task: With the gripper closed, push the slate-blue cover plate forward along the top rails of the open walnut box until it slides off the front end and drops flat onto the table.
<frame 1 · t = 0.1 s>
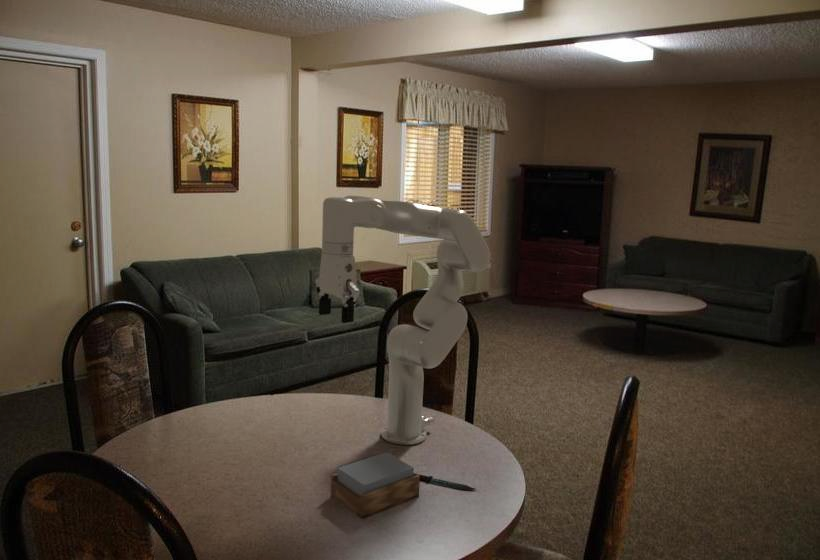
hand: (335, 318, 159), 37 cm above the table, tool pointing down, fingers open, 9 cm apart
cover plate: (375, 480, 146), point 4 cm above the table, touching walnut box
knife: (435, 484, 155), on the table
walnut box: (374, 496, 147), on the table
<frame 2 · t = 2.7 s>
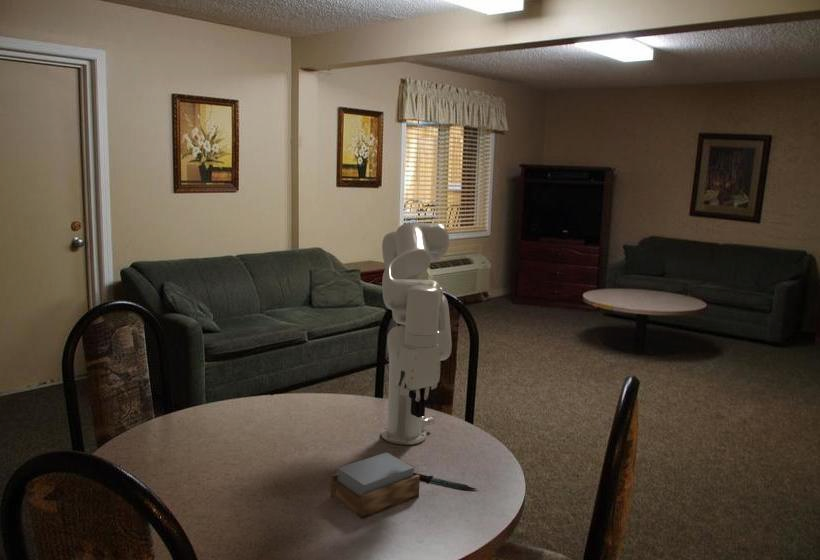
hand: (417, 415, 152), 17 cm above the table, tool pointing down, fingers closed
nothing on the table moved.
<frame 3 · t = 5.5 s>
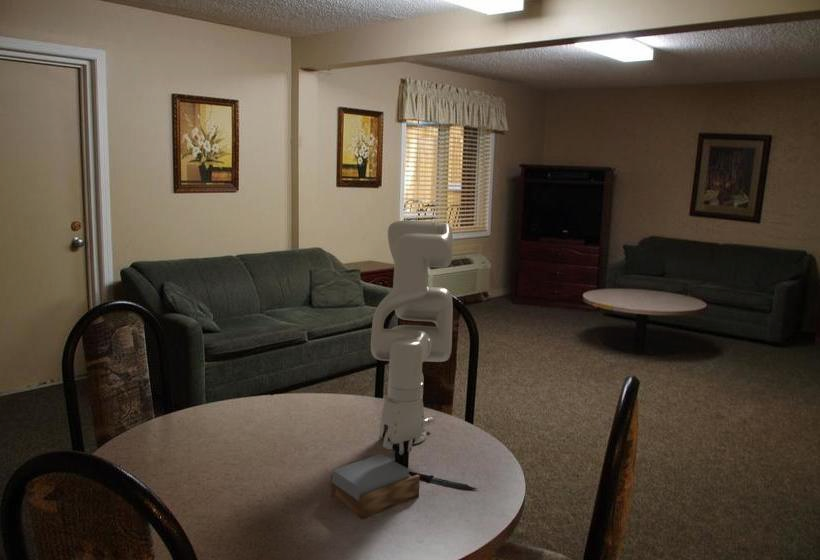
hand: (401, 467, 151), 5 cm above the table, tool pointing down, fingers closed
cover plate: (370, 482, 145), point 4 cm above the table, touching gripper, walnut box
everything else where it was.
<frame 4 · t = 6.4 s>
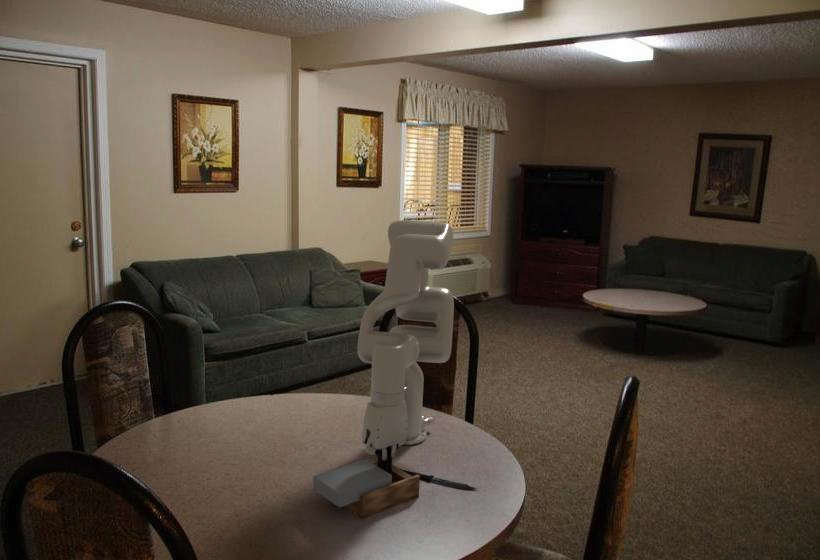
hand: (384, 472, 148), 5 cm above the table, tool pointing down, fingers closed
cover plate: (352, 488, 142), point 4 cm above the table, touching gripper, walnut box
everything else where it was.
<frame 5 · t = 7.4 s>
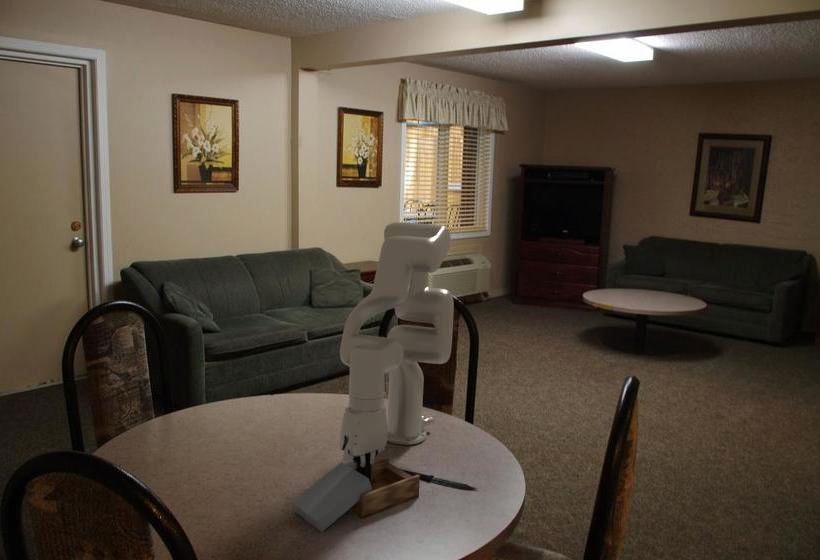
hand: (363, 480, 144), 5 cm above the table, tool pointing down, fingers closed
cover plate: (334, 500, 139), point 3 cm above the table, tilted 22°, touching gripper
everything else where it was.
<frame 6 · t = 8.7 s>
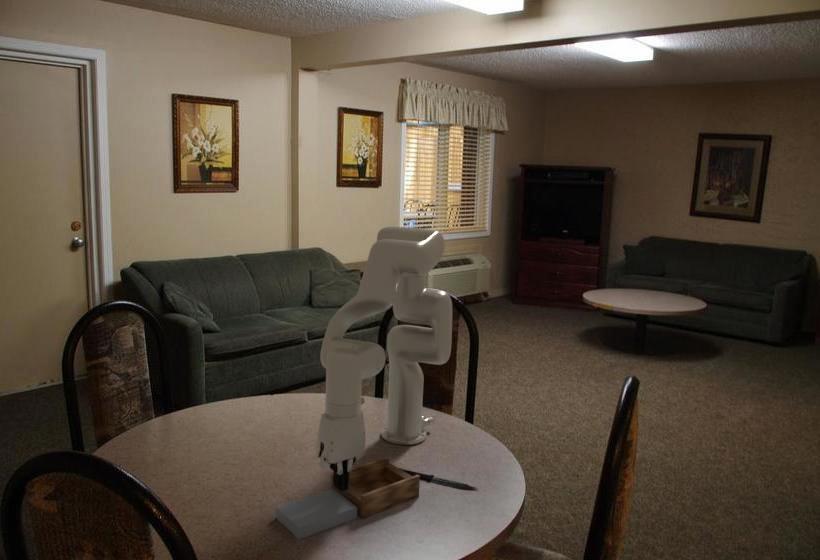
hand: (340, 487, 140), 5 cm above the table, tool pointing down, fingers closed
cover plate: (316, 519, 137), on the table
everything else where it was.
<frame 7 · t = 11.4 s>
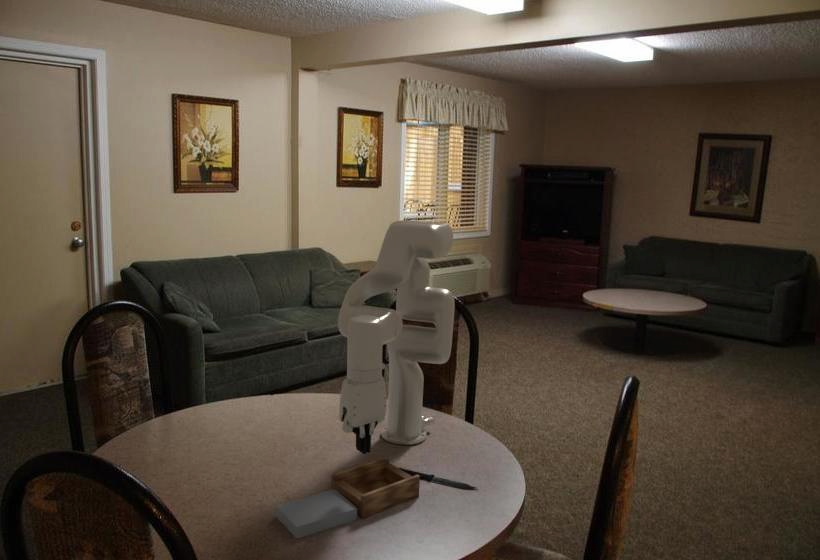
hand: (363, 450, 143), 12 cm above the table, tool pointing down, fingers closed
nothing on the table moved.
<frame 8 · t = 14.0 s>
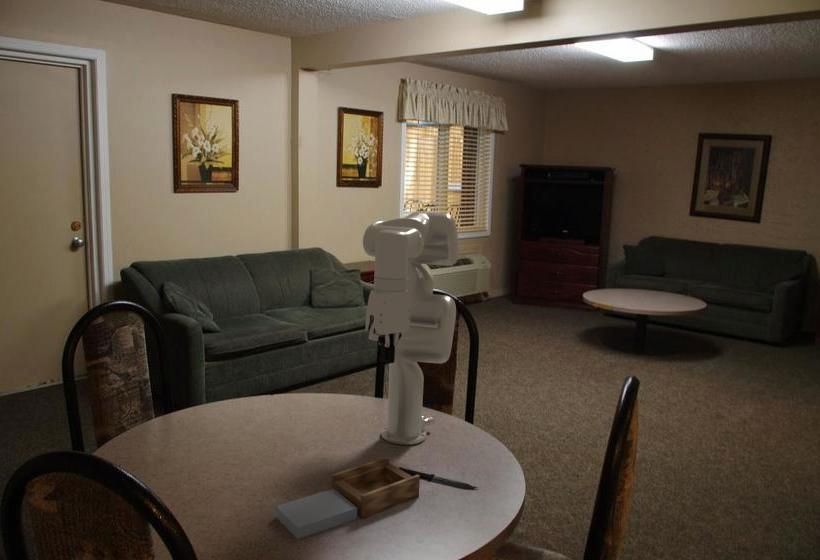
hand: (387, 361, 151), 29 cm above the table, tool pointing down, fingers closed
at the end: cover plate inside the target area (5.6 cm from its centre), on the table; cover plate tilted 0°; the gripper is holding nothing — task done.
